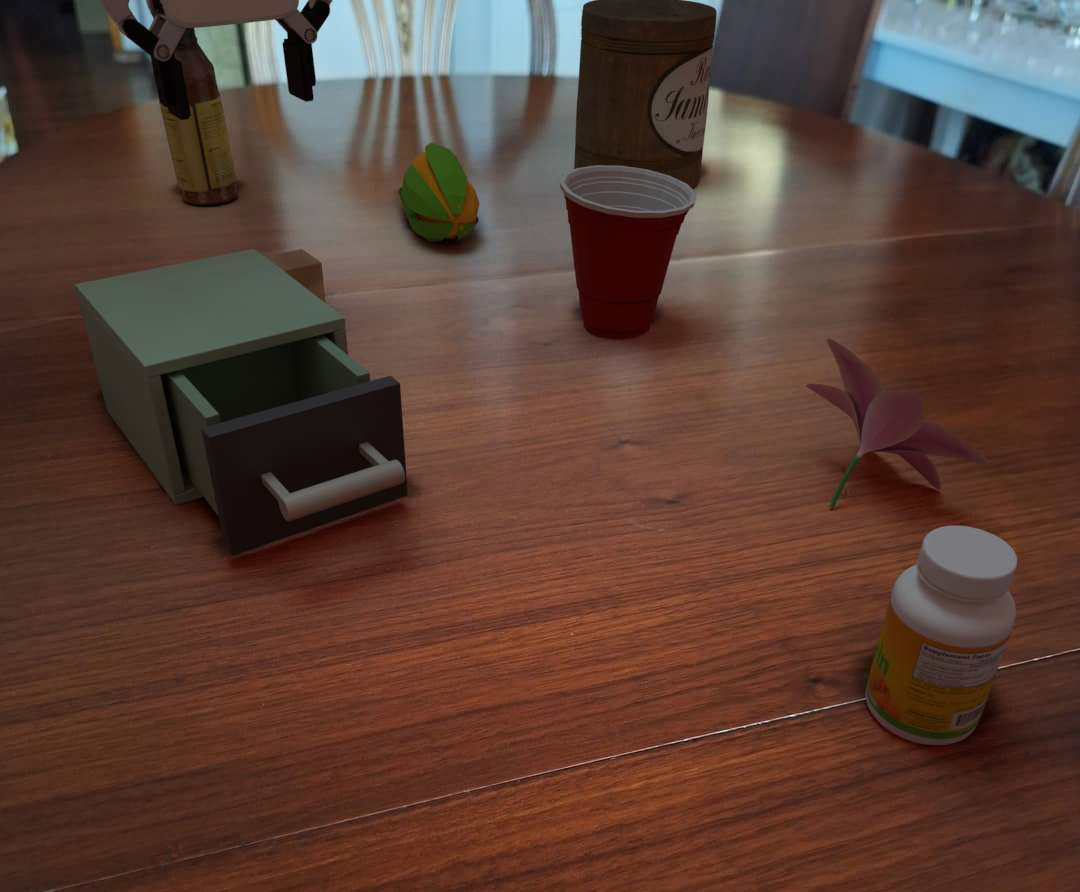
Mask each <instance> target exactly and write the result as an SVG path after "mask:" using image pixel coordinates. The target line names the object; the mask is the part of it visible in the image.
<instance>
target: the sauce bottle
mask: <svg viewBox="0 0 1080 892" xmlns="http://www.w3.org/2000/svg"><path fill="white" fill-rule="evenodd" d="M149 13H150V14H151V16H152V18H153V19H154V18H155V15H153V14H152V13H151V12H150V11H149ZM174 57H175V59H177V60H179V61H180V62H181V64H182V69H183V74H184V80H185V85H186V91H187V96H188V102H189V107H190V112H191V117H189V119H186V120H180V119H179V118H177V117H175V116H174V115H172V114H171V113H169V111H168V108H167V107H164V106H163V105H162V104H161V102H160V100H159V99H158V103H159V107H160V113H161V117H162V121H163V124H164V129H165V134H166V139H167V142H168V148H169V152H170V157H171V161H172V165H173V169H174V174H175V178H176V182H177V186H178V189H179V192H180V196H181V198H182V199H183V200H184V201H185V202H187V203H188V204H191V205H195V206H202V205H203V206H213V205H219V204H225V203H227V202H230V201H232V200H234V199H235V198H237V196H238V186H237V182H236V181H237V173H236V169H235V164H234V159H233V154H232V148H231V143H230V137H229V133H228V132H229V131H228V129H227V123H226V116H225V113H224V107H223V102H222V97H221V94H220V91H219V87H218V83H217V79H216V78H217V77H216V71H215V67H214V65H213V63H212V62H211V61H210V59H209V58H208V55H206V53H205V52H204V50H203V48H202V47H201V45H200V44H199V43H198V37H197V36H196V31H195V28H186V29H185V31H184V33H183V35H182V37H181V39H180V41H179V43H178V44H177V46H176V48H175V50H174ZM152 73H153V74H152V75H153V77H154V79H155V76H154V71H153V70H152ZM154 81H155V80H154ZM154 83H156V81H155V82H154Z"/></svg>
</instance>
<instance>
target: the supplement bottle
mask: <svg viewBox="0 0 1080 892" xmlns="http://www.w3.org/2000/svg"><path fill="white" fill-rule="evenodd" d="M1017 567H1018V556H1017V554H1016V552H1015V550H1014V549H1013V547H1012V546H1011V545H1010V544H1008V542H1006V540H1004V539H1002V538H1001V537H999V536H998V535H996V534H993V533H991V532H988V531H986V530H984V529H981V528H976V527H973V526H967V525H945V526H941V527H937V528H934V529H932V530H931V531H930V532H928V533H927V534H926V535H925V537H924V538H923V541H922V543H921V547H920V550H919V553H918V557H917V561H916V564H914V565H912V566H910V567H909V568H907V569H905V570H904V571H903V572H901V574H900V575H899V576H898V577H897V578H896V581H895V582H894V585H893V588H892V590H891V593H890V596H889V601H888V605H887V608H886V612H885V616H884V620H883V622H882V623H883V624H882V628H881V631H880V635H879V639H878V642H877V646H876V649H875V653H874V657H873V660H872V663H871V667H870V671H869V674H868V678H867V682H866V687H865V695H864V696H865V701H866V705H867V708H868V709H869V711H870V713H871V715H872V716H873V717H874V718H875V720H876V721H877V722H878V723H879V724H880V725H881V726H883V727H884V729H886V730H887V731H889V732H890V733H891V734H893V735H896V736H897V737H899V738H901V739H903V740H906V741H908V742H912V743H915V744H921V745H925V746H946V745H952V744H957V743H959V742H961V741H963V740H965V739H967V738H968V737H969V736H970V735H971V734H972V733H974V731H975V729H976V728H977V726H978V724H979V721H980V720H981V717H982V714H983V711H984V709H985V706H986V704H987V701H988V698H989V695H990V692H991V689H992V687H993V684H994V682H995V679H996V676H997V673H998V670H999V667H1000V665H1001V663H1002V660H1003V656H1004V653H1005V651H1006V648H1007V646H1008V643H1009V641H1010V638H1011V635H1012V632H1013V629H1014V626H1015V622H1016V617H1017V608H1016V607H1017V606H1016V603H1015V600H1014V598H1013V595H1012V594H1011V593H1010V591H1009V590H1010V588H1011V586H1012V584H1013V581H1014V577H1015V573H1016V570H1017Z"/></svg>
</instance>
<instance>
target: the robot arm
mask: <svg viewBox="0 0 1080 892" xmlns="http://www.w3.org/2000/svg"><path fill="white" fill-rule="evenodd" d="M130 1H131V0H98V2H99V3H100V4H101V6H102V7H103V9H104V11H105V12H106V13H107V14H108V15H109V17H110V19H111V20H112V21H113V23H114V24H115V25H116V27H117V28H118V30H119V32H120V33H121V34H122V35H124V36H125V37H126V38H127V39H128V40H130V41H131V42H132V43H134V44H135V45H136V46H138V48H139V49H141V50H142V51H144V53H145V54H147V55H148V56H149V57H150V60H151V61H150V62H151V66H152V72H153V71H154V74H153V77H154V76H155V78H154V81H156V82H155V85H156V90H157V95H158V101H159V100H160V102H161V104H162V105H163V106H164V107H167V108H168V111H169V113H171V114H172V115H174V116H175V117H177V118H179V119H180V120H186V119H189V117H191V112H190V107H189V102H188V96H187V91H186V85H185V80H184V74H183V69H182V64H181V62H180V61H179V60H177V59H175V57H174V50H175V48H176V46H177V44H178V43H179V41H180V39H181V37H182V35H183V33H184V31H185V29H186V28H194V29H199V28H200V29H201V28H210V27H220V26H230V25H240V24H249V23H257V22H267V21H276V22H277V24H278V25H279V26H280V27H281V28H282V29H283V30H284V32H286V36H287V38H283V42H282V50H283V59H284V67H285V75H286V82H287V83H286V84H287V89H288V93H289V94H290V95H291V96H293V97H295V98H298V99H300V100H302V101H303V102H305V103H307V102H308V103H309V102H313V101H314V88H313V87H315V86H316V83H317V76H316V69H315V59H314V52H313V51H314V50H313V44H315V42H316V41H317V39H318V33H319V31H320V29H321V28H322V26H323V25H324V23H325V22H326V21H327V19H328V17H329V16H330V13H331V3H333V0H307V2H306V3H305V5H304V6H303V8H302V9H301V11H300V10H299V9H298V7H299V5H300V0H145V3H146V5H147V9H148V11H149V13H150V12H151V13H152V14H153V15H155V18H153V20H152V22H151V24H150V25H149V28H147V27H145V26H144V25H143V24H142V23H141V22H140V21H138V19H137V18H136V16H135V15H134V13H133V11H132V10H131V8H130ZM151 13H150V14H151Z"/></svg>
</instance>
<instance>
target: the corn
mask: <svg viewBox="0 0 1080 892" xmlns="http://www.w3.org/2000/svg"><path fill="white" fill-rule="evenodd" d="M398 196H399V198H400V202H401V204H402V207H403V209H404V213H405V214H406V218H407V220H408V223H409V225H410V227H411V229H412V231H413V232H414V233H415V234H416V235H417V236H420V238H421V237H422V238H423V239H425V240H427V241H428V242H430V243H433V242H435V243H436V242H442V241H443V240H444V239H448V240H449V239H450V240H452V239H453V240H455V241H456V242H457V241H459V240H460V239H462V238H464V237H465V236H467V235H469V234H470V233H471V232H472V231H473V229H474V228H475V227H476V226H477V225H478V223H479V216H478V213H479V208H480V201H479V197H478V195H477V191H476V189H475V188H474V186H472V184H471V183H470V182H469V180H468V176H467V174H466V172H465V170H464V169H463V167H462V164H461V162H460V160H459V159H458V156H457V155H456V154H455V153H454V152H452V150H451V149H450V148H447V147H445V146H444V145H443V146H442V145H440V144H438V143H435V142H430V143H428V144H426V145H425V147H424V151H421V153H419V154H418V155H417V156H415V157H414V159H413V161H412V164H411V165H410V166H408V167H407V169H406V170H405V171H404V175H403V179H402V186H401V187H399V189H398ZM416 214H417V215H418V216H417V215H416Z"/></svg>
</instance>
